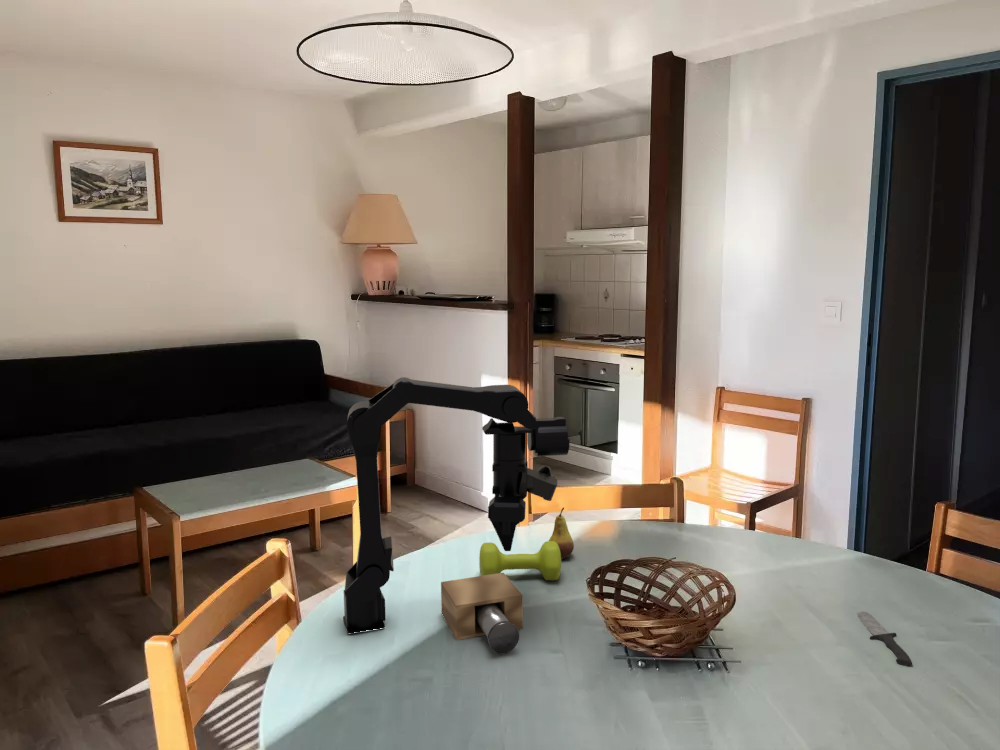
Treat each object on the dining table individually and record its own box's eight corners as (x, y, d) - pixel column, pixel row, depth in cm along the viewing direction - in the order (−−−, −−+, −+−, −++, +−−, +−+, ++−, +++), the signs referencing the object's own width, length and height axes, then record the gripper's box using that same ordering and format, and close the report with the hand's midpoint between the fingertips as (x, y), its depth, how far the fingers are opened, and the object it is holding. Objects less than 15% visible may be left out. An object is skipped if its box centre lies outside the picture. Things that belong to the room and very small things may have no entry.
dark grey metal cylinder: (489, 656, 124) (489, 626, 123) (464, 616, 137) (463, 589, 137) (519, 650, 125) (519, 620, 125) (491, 611, 139) (491, 584, 138)
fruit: (578, 555, 166) (578, 501, 164) (566, 564, 161) (566, 509, 159) (555, 550, 169) (555, 497, 167) (543, 558, 164) (543, 505, 162)
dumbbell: (558, 569, 159) (558, 536, 158) (562, 586, 151) (562, 551, 150) (479, 571, 158) (479, 537, 157) (479, 587, 150) (479, 553, 149)
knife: (837, 601, 142) (865, 601, 142) (837, 606, 143) (865, 606, 142) (893, 660, 120) (926, 660, 120) (893, 667, 120) (925, 667, 120)
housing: (456, 639, 130) (455, 605, 129) (441, 614, 139) (441, 582, 138) (522, 628, 134) (522, 594, 133) (503, 603, 143) (503, 572, 142)
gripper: (555, 472, 126) (554, 562, 128) (554, 444, 144) (553, 524, 146) (487, 471, 126) (487, 561, 129) (495, 443, 145) (495, 522, 147)
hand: (509, 541), depth 138 cm, fingers open, 9 cm apart
